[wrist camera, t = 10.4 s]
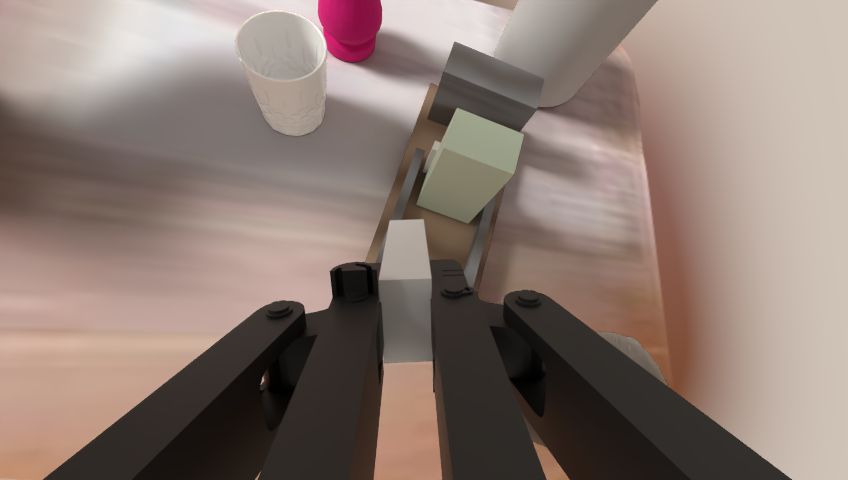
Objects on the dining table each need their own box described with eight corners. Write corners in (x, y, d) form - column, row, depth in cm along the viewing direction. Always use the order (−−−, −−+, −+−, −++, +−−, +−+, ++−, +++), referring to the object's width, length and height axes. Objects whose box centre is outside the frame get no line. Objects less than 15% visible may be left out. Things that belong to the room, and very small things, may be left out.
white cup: (291, 69, 46) (278, -5, 37) (343, 110, 46) (344, 46, 37) (241, 111, 43) (214, 43, 34) (297, 154, 43) (286, 97, 34)
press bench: (459, 343, 41) (494, 338, 31) (348, 306, 40) (351, 290, 30) (514, 128, 50) (555, 75, 41) (427, 93, 49) (447, 30, 40)
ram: (472, 225, 42) (519, 177, 31) (411, 203, 42) (437, 145, 30) (483, 186, 44) (531, 126, 33) (425, 164, 43) (454, 95, 32)
